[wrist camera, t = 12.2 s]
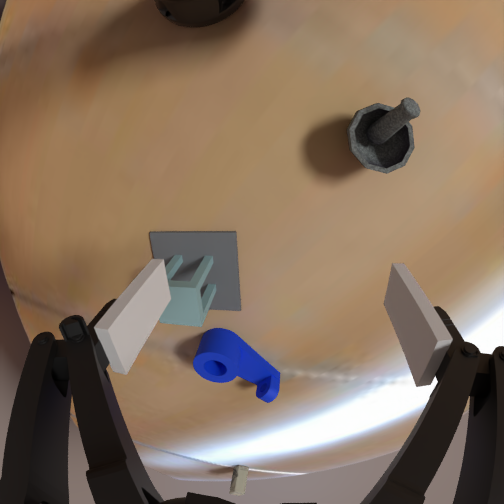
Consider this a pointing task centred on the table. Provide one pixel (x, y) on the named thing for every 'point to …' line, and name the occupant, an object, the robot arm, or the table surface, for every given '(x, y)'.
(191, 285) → the slotted teal block
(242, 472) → the grey stone block
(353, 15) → the table surface
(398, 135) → the mortar and pestle
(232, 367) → the bracket
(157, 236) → the mat
